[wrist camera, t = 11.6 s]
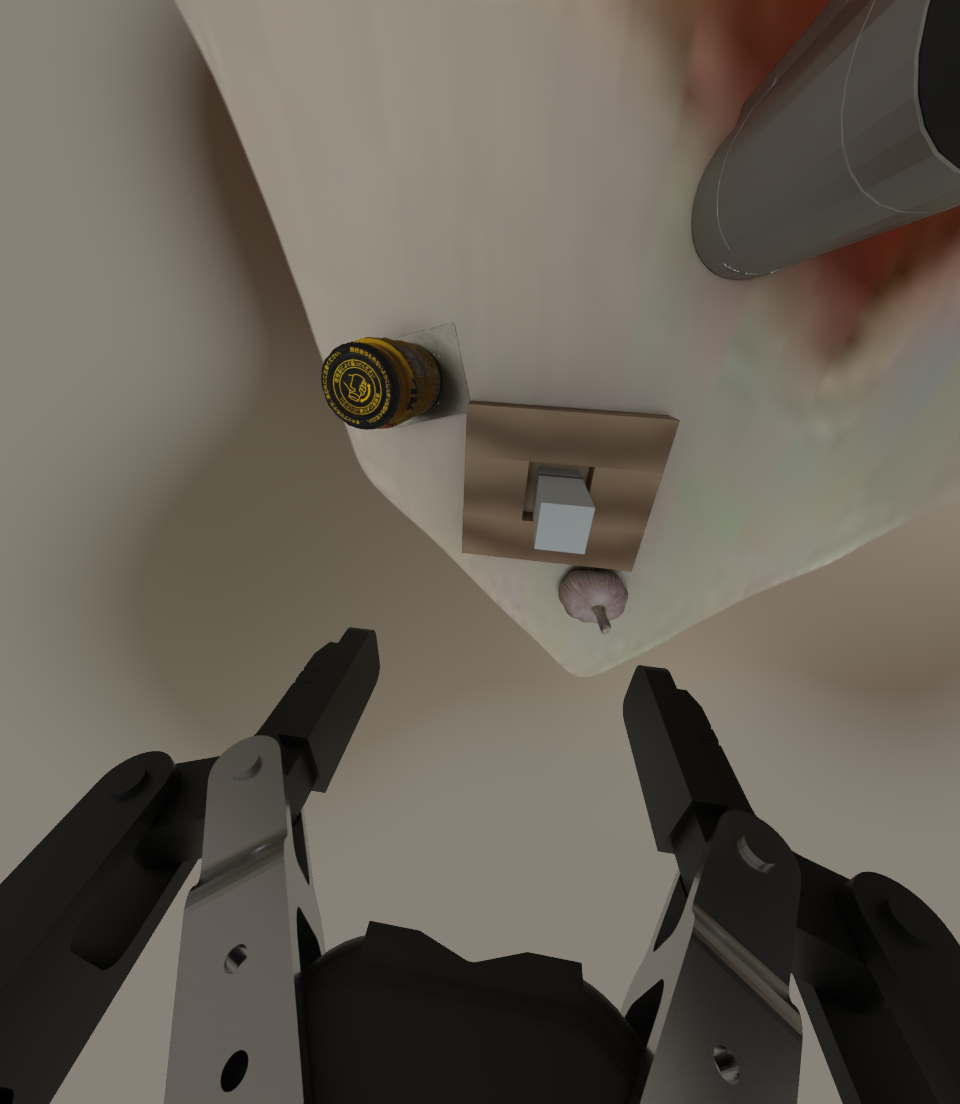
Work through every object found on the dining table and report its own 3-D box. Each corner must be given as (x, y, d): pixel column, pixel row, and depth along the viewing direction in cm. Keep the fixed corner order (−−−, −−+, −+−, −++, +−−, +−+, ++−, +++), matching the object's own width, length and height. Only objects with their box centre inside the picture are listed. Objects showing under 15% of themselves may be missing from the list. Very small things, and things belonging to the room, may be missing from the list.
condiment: (366, 346, 32) (288, 341, 22) (454, 322, 30) (415, 304, 20) (391, 428, 36) (334, 456, 25) (472, 410, 34) (447, 433, 23)
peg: (537, 466, 35) (540, 501, 26) (579, 469, 35) (596, 507, 26) (532, 504, 37) (533, 549, 28) (571, 508, 37) (584, 554, 28)
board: (472, 400, 33) (467, 404, 31) (667, 415, 32) (679, 420, 29) (466, 540, 41) (461, 552, 38) (624, 557, 39) (631, 571, 37)
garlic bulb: (636, 587, 41) (658, 634, 34) (587, 620, 44) (597, 669, 37) (594, 546, 39) (607, 587, 32) (545, 584, 42) (548, 628, 35)
